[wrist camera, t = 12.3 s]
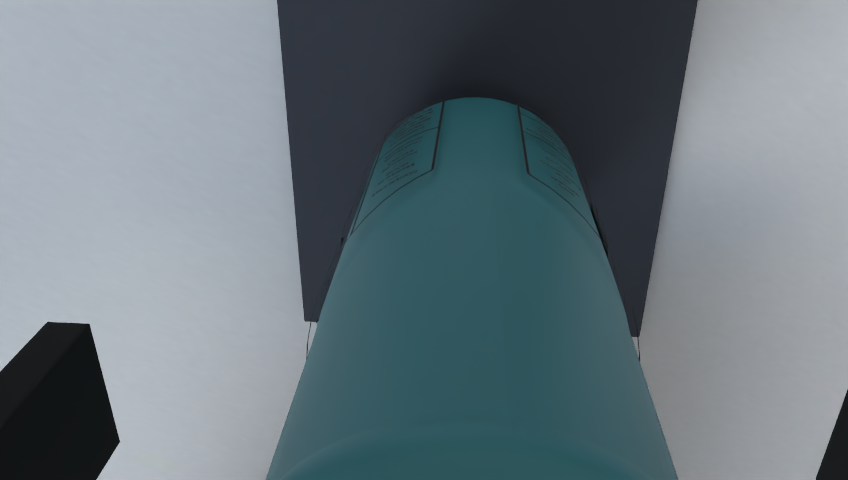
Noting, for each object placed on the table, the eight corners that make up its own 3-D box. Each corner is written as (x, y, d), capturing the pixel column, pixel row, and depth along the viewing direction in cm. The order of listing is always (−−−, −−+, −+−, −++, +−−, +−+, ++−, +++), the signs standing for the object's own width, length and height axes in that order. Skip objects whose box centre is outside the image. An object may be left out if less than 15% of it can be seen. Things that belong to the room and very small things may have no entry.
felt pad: (278, -31, 21) (274, -29, 20) (698, -24, 20) (702, -23, 20) (306, 315, 26) (304, 321, 26) (637, 331, 25) (639, 337, 25)
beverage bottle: (347, 101, 22) (-229, 1057, 4) (562, 49, 21) (1028, 1080, 3) (403, 279, 25) (197, 1308, 7) (595, 243, 24) (940, 1374, 6)
